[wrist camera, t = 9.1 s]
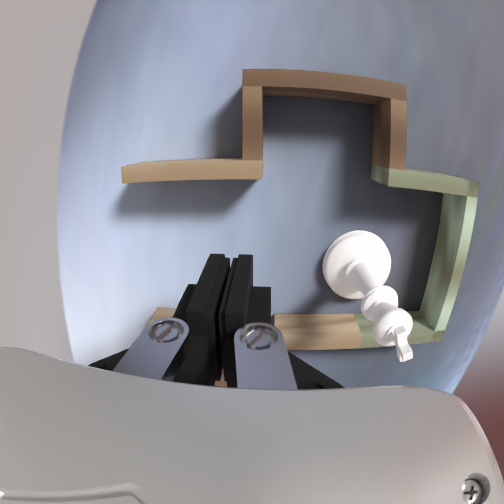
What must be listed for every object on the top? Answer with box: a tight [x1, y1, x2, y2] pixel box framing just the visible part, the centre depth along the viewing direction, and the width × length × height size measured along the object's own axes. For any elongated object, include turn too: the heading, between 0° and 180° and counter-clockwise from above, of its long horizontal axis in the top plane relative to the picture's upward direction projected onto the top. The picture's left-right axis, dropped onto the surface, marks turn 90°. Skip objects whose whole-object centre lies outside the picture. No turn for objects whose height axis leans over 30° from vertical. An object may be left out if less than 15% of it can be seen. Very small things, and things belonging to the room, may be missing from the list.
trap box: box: [121, 69, 479, 387], centre depth 18 cm, size 22×22×3 cm
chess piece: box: [323, 230, 413, 362], centre depth 15 cm, size 5×5×10 cm
